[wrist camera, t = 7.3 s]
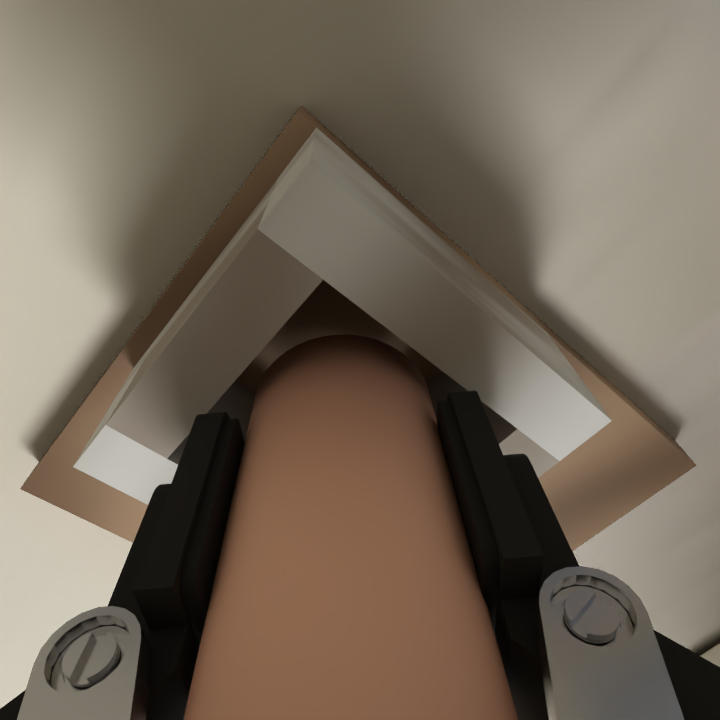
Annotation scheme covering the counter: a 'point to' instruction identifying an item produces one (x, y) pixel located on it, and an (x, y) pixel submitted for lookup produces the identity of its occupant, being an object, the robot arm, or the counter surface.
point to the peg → (346, 556)
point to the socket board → (353, 317)
